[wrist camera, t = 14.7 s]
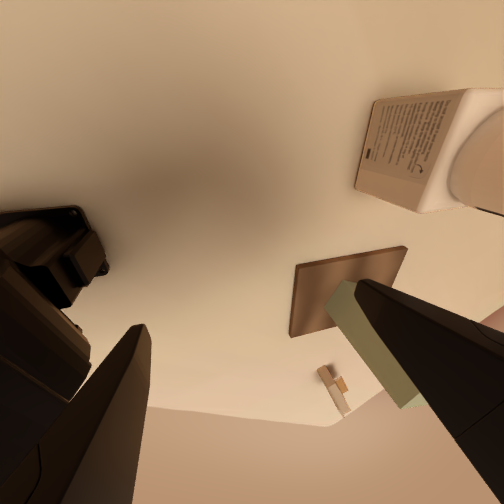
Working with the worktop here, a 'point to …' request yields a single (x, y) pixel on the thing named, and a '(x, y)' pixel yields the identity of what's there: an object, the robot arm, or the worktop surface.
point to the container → (437, 151)
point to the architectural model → (335, 389)
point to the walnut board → (336, 284)
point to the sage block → (371, 347)
